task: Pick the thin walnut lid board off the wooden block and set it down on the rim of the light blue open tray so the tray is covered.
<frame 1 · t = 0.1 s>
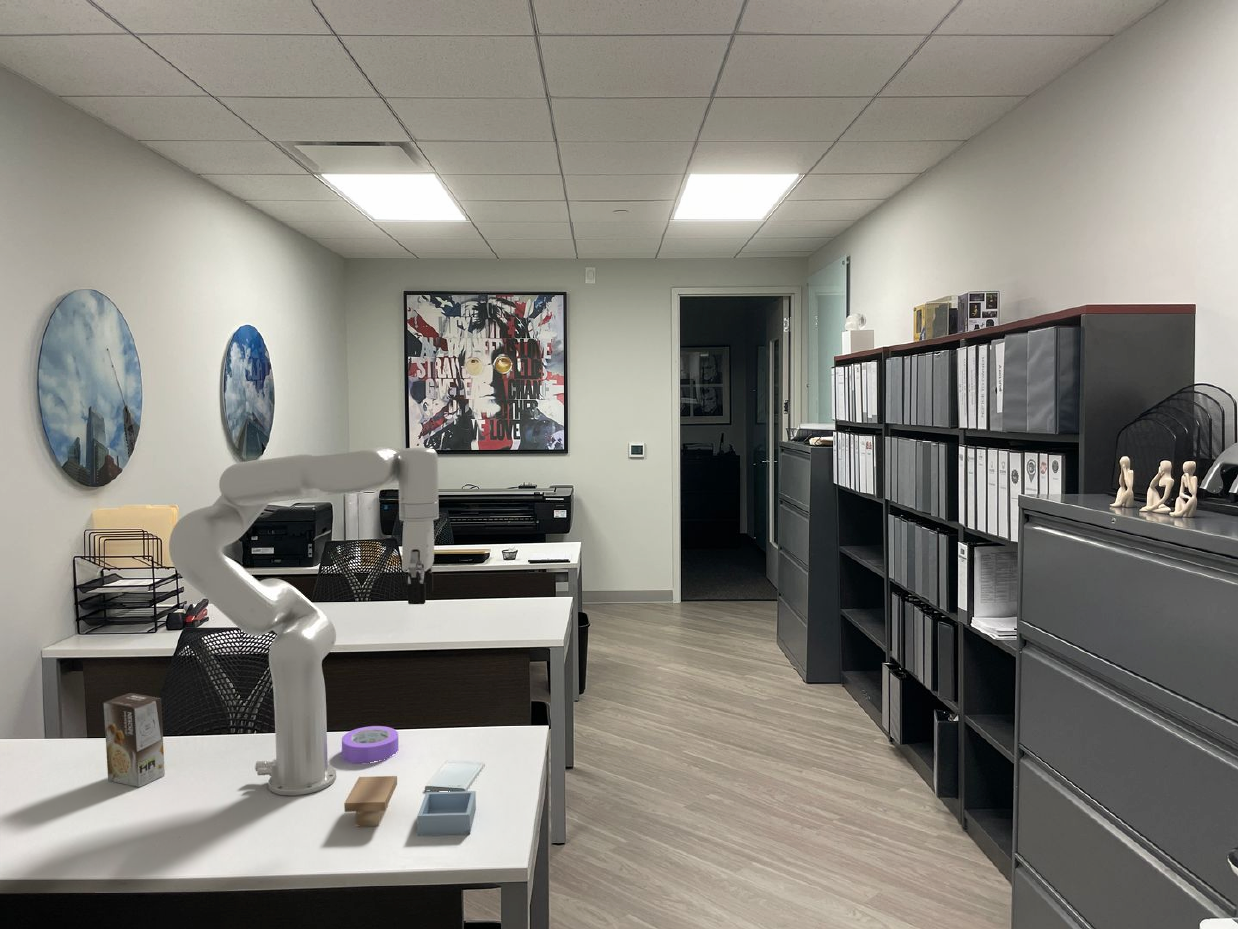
hand: (420, 598, 169), 37 cm above the table, tool pointing down, fingers open, 9 cm apart
wooden block: (372, 816, 156), on the table
lid: (371, 797, 156), point 3 cm above the table, touching wooden block
hard drive: (455, 782, 172), on the table
masking tape: (370, 754, 185), on the table
coffee box: (136, 779, 173), on the table
light blue open tray: (447, 822, 154), on the table
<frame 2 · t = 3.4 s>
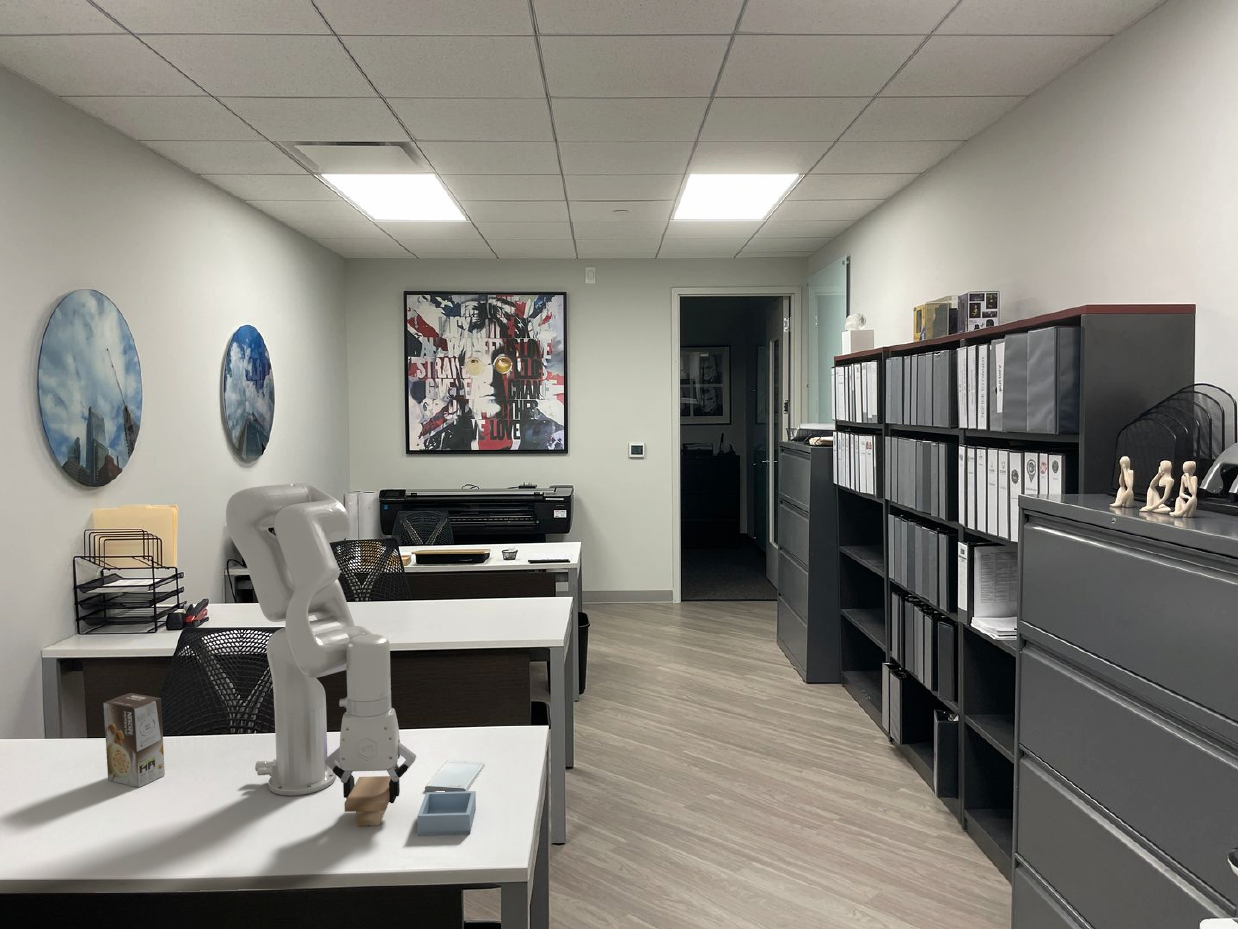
hand: (372, 799, 156), 3 cm above the table, tool pointing down, fingers closed on lid, 7 cm apart
lid: (371, 797, 156), point 4 cm above the table, touching wooden block, gripper
everything else where it was.
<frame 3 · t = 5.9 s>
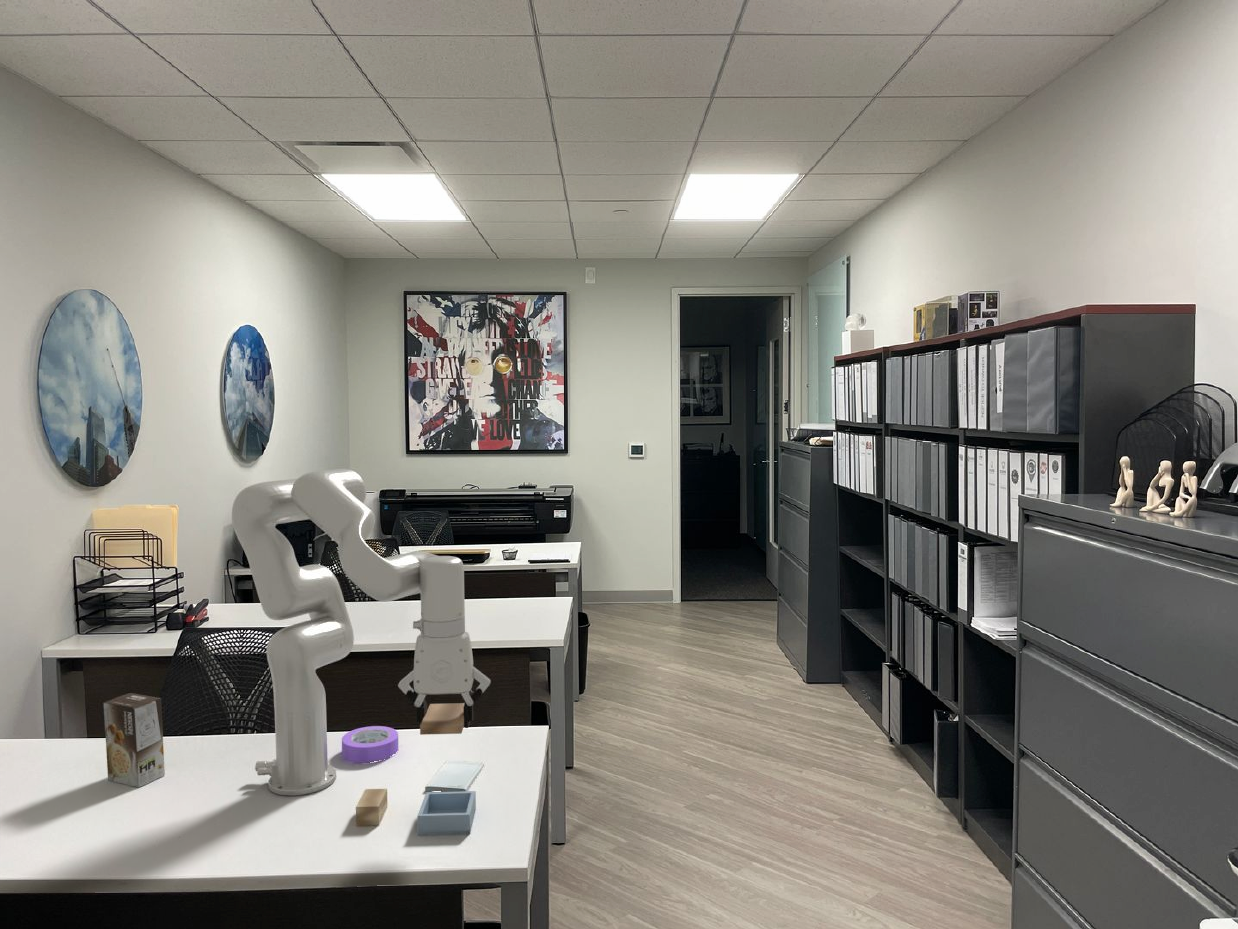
hand: (445, 725, 153), 18 cm above the table, tool pointing down, fingers closed on lid, 7 cm apart
lid: (445, 722, 153), point 18 cm above the table, touching gripper
everything else where it was.
when the fingers open (5 cm above the table, at t = 8.9 s): lid drops 1 cm, resting on light blue open tray.
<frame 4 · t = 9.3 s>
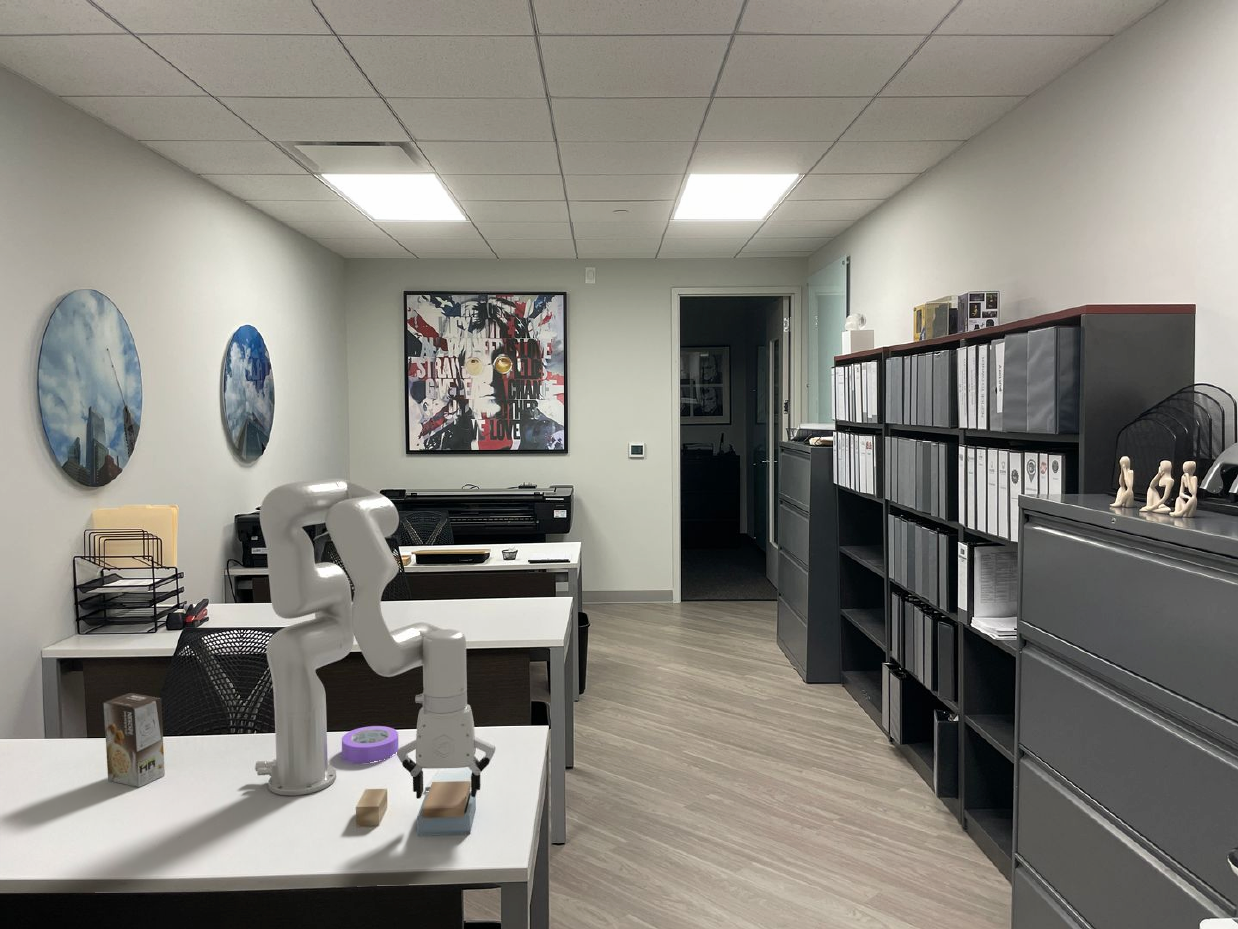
hand: (447, 794, 154), 5 cm above the table, tool pointing down, fingers open, 9 cm apart
lid: (447, 803, 154), point 3 cm above the table, touching light blue open tray
everything else where it was.
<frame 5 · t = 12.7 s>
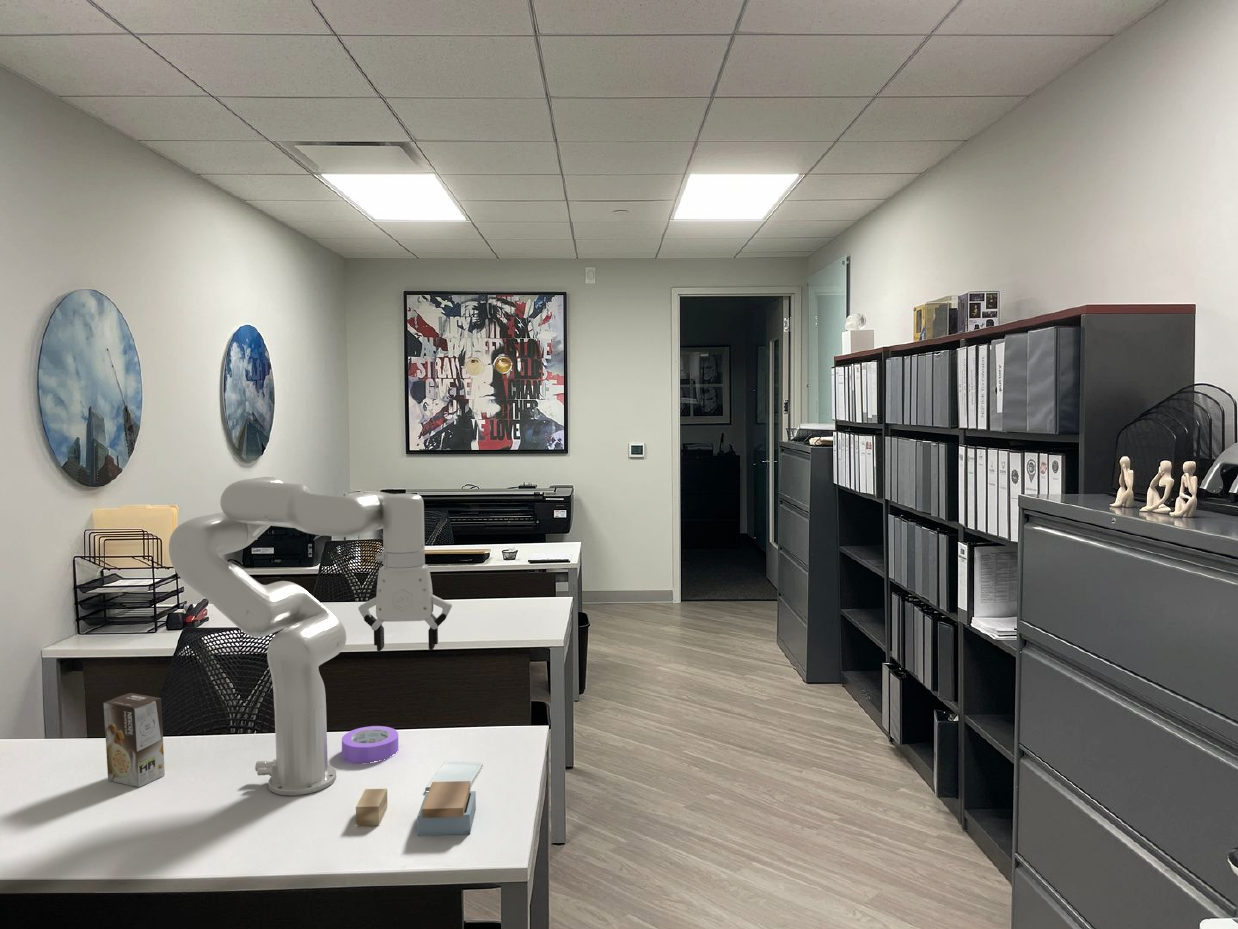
hand: (406, 648, 163), 28 cm above the table, tool pointing down, fingers open, 9 cm apart
nothing on the table moved.
at the end: lid 0.0 cm off-centre on the light blue open tray, point 3.5 cm above the light blue open tray's base; lid tilted 0°; the gripper is holding nothing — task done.
